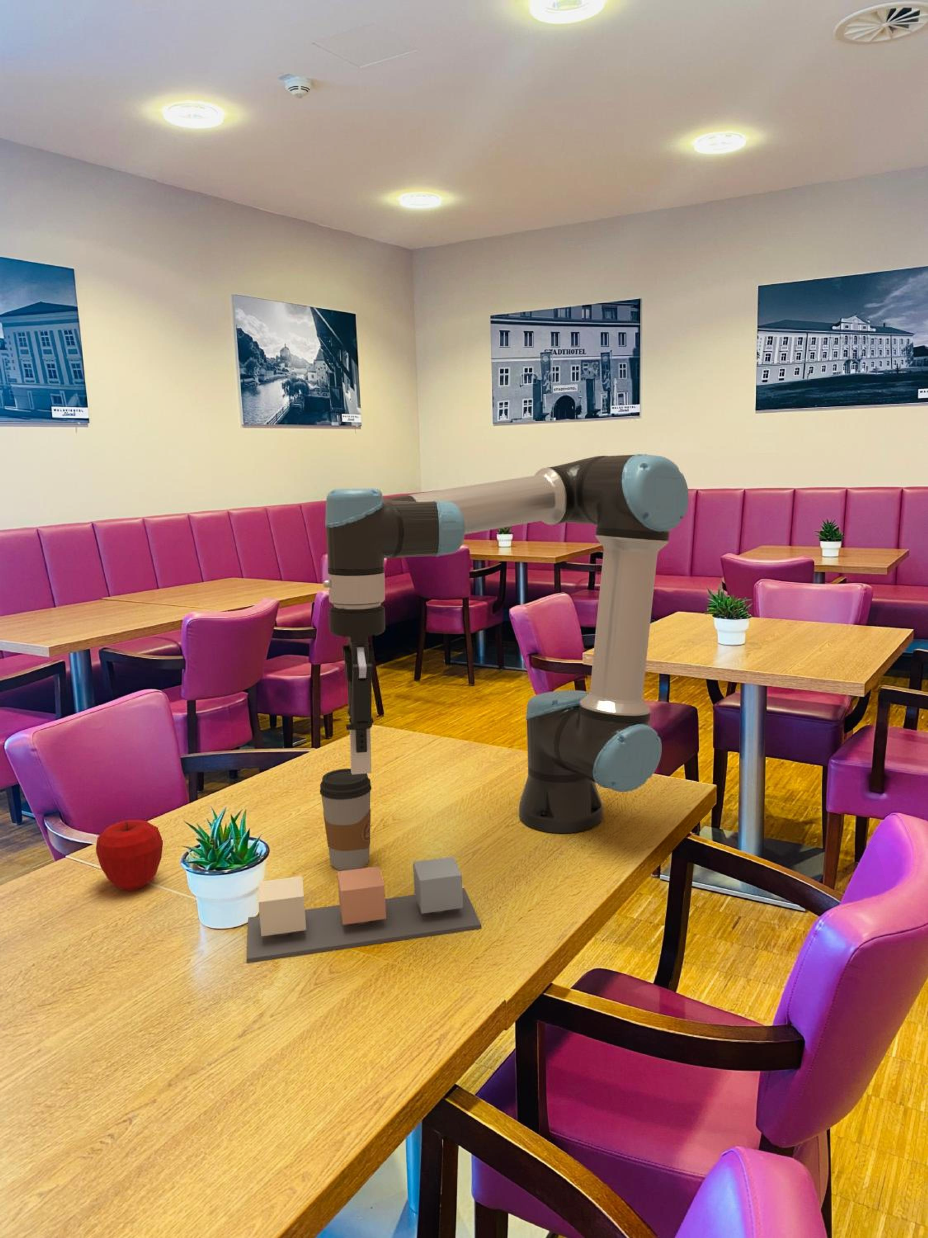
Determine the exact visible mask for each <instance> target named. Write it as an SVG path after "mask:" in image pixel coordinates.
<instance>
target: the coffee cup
mask: <svg viewBox="0 0 928 1238" xmlns="http://www.w3.org/2000/svg"><path fill="white" fill-rule="evenodd" d="M319 788H320V789H319V794H320V796H321V802H322V808H323V813H322V814H323V820H324V827H325V829H324V830H325V835H326V842H327V848H328V854H329V862H330V864H331V866H332V867H333V869H335V870H337V871H346V870H354V869H362V868H366V866H367V865H368V863H369V861H370V854H371V853H370V848H371V847H370V846H371V817H372V816H371V812H372V811H371V792H372V783H371V779H370V778H369V775H368V773H365V774H352V773H351V768H340V769H334V770H331V771H329V772H327V773H325V774H323V775H322V778H321V782H320V783H319Z"/></svg>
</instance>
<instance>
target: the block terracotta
mask: <svg viewBox="0 0 928 1238" xmlns="http://www.w3.org/2000/svg"><path fill="white" fill-rule="evenodd" d="M336 874H337V884H338V885H337V888H338V902H339V903H338V905H340V911H341V917H342V923H343V925H345V924H352V923H359V922H366V921H373V920H380V919H386V907H385V899H386V892H385V891H386V890H385V883H384V879H383V875H382V871H381V868H380V866H371V867H363V868H361V869H354V870H346V871H339V870H337V873H336Z"/></svg>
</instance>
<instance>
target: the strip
mask: <svg viewBox="0 0 928 1238" xmlns="http://www.w3.org/2000/svg"><path fill="white" fill-rule="evenodd" d="M462 890H463V908H458V909H451V910H444V911H437V912H430V913H423V914H421V911H420V908H419V905H418V902H417V899H416V896H415V894H409V895H403V896H394V897H388V898H386V897H385V907H386V919H380V920H373V921H366V922H359V923H352V924H345V925H343V923H342V917H341V911H340V904H337V905H329V906H321V907H314V908H305V920H306V930H303V931H296V932H289V933H282V934H274V935H267V936H261V927H260V915H257V916H255V915H254V916H250V917H248V918H247V936H246V937H247V940H246V941H247V942H246V944H247V945H246V963H247V964H250V963H253V962H262V961H263V962H264V961H269V960H276V959H282V958H288V957H289V958H290V957H296V956H303V955H309V954H316V953H323V952H329V951H336V950H344V949H349V948H357V947H363V946H370V945H377V944H383V943H391V942H398V941H405V940H411V939H417V938H418V939H419V938H424V937H432V936H438V935H447V934H452V933H458V932H459V933H460V932H465V931H471V930H479V929H482V923H481V921H480V918H479V917H478V914H477V913H476V910H475V908H474V906H473V904H472V901H471V899H470V896H469V895H468V893H467V891H466V888H465V887H462Z"/></svg>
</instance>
